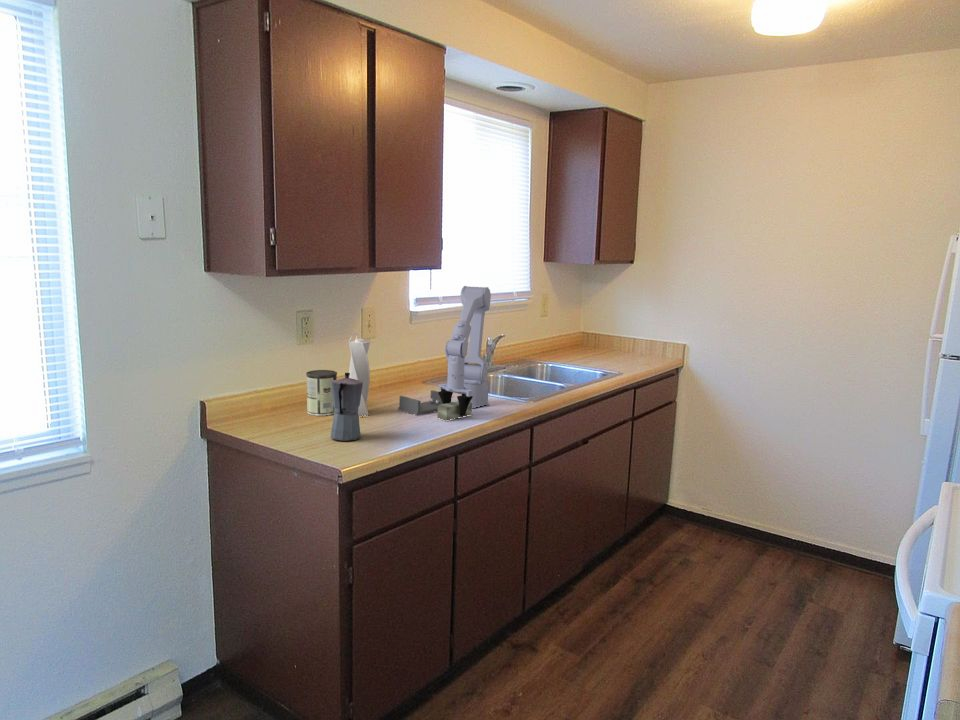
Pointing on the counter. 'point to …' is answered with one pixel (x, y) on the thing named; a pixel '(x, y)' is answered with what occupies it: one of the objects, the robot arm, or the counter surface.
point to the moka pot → (346, 408)
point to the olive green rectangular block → (452, 410)
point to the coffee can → (320, 392)
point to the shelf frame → (420, 404)
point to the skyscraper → (360, 369)
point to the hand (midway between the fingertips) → (454, 413)
